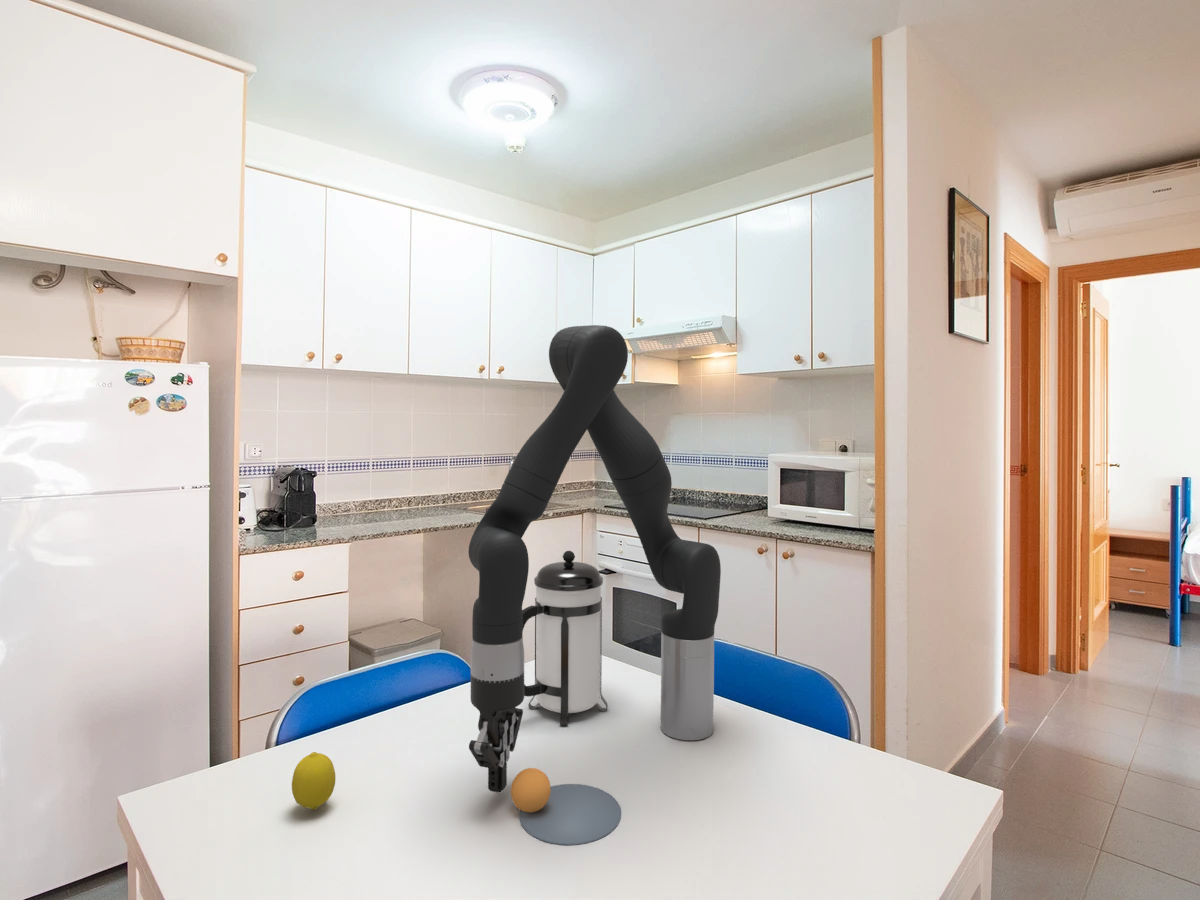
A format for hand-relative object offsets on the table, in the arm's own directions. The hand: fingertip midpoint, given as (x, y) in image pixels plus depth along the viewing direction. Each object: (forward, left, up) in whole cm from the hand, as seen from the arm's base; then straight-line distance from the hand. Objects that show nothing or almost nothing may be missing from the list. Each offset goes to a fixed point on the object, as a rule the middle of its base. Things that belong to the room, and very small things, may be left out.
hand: (497, 788), depth 94 cm
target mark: (0, +11, -2) cm, 11 cm away
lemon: (+10, -23, -2) cm, 25 cm away
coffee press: (-30, -1, -2) cm, 30 cm away
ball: (+1, +5, +1) cm, 6 cm away
